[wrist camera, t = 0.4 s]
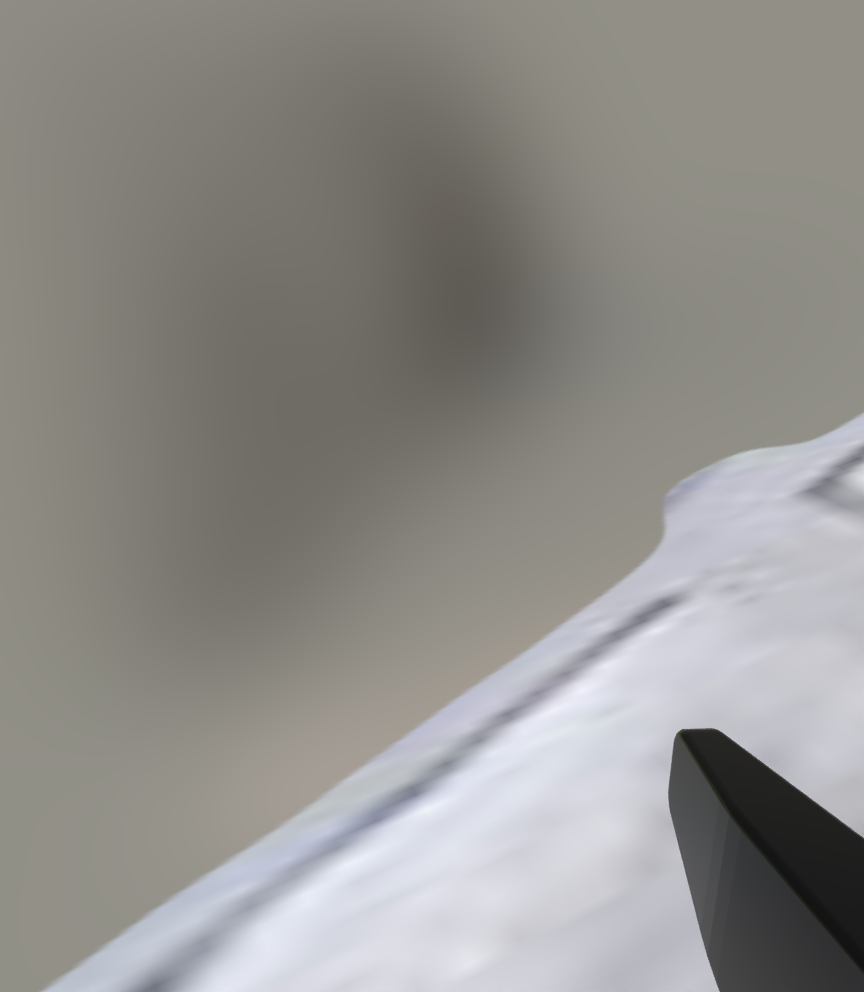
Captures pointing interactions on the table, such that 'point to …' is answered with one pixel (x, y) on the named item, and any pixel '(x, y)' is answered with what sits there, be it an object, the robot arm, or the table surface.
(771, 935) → the robot arm
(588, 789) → the table surface
